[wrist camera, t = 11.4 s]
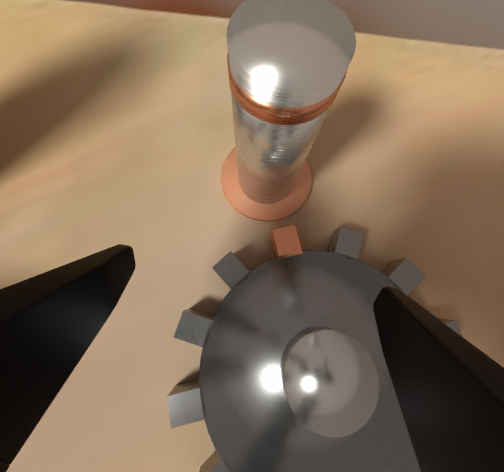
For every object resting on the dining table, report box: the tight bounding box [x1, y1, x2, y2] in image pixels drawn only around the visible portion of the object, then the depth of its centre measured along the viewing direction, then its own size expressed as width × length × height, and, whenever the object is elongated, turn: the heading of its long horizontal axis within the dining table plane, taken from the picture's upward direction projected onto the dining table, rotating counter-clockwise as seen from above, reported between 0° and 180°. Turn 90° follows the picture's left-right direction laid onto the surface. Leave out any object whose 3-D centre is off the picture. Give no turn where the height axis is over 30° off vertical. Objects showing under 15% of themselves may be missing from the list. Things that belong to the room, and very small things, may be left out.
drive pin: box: [227, 0, 356, 204], centre depth 13 cm, size 4×4×10 cm
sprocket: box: [167, 225, 462, 472], centre depth 13 cm, size 18×18×3 cm
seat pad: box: [221, 147, 312, 221], centre depth 18 cm, size 7×7×1 cm
